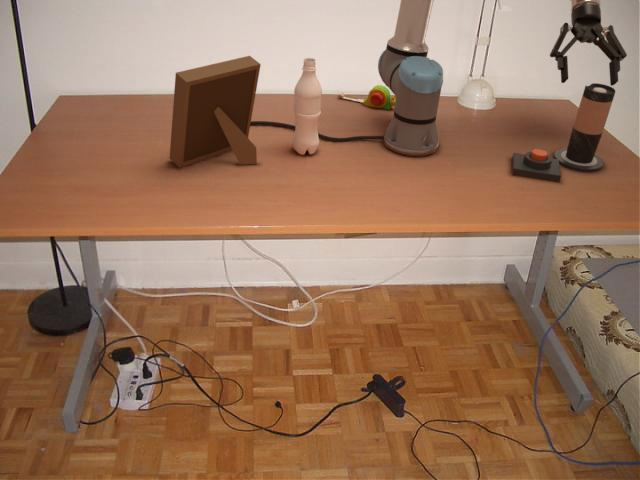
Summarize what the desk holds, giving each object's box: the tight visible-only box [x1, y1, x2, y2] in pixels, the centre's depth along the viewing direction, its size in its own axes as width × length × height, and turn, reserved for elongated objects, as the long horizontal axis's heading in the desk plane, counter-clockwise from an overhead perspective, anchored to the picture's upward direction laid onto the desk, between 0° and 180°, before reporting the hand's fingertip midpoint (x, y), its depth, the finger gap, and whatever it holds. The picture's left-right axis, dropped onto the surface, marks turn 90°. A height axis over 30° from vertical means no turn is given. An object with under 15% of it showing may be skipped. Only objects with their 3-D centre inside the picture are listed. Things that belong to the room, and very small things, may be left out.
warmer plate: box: [553, 147, 604, 173], centre depth 177 cm, size 13×13×1 cm
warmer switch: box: [511, 150, 562, 183], centre depth 170 cm, size 12×10×4 cm
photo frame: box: [169, 55, 261, 169], centre depth 159 cm, size 15×22×25 cm
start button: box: [531, 148, 548, 161], centre depth 169 cm, size 4×4×2 cm
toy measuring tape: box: [338, 84, 396, 111], centre depth 203 cm, size 6×20×7 cm, turn 65°
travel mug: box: [566, 82, 616, 164], centre depth 172 cm, size 8×8×20 cm
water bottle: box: [291, 57, 323, 156], centre depth 167 cm, size 7×7×25 cm
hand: (589, 82), depth 172 cm, fingers open, 13 cm apart
